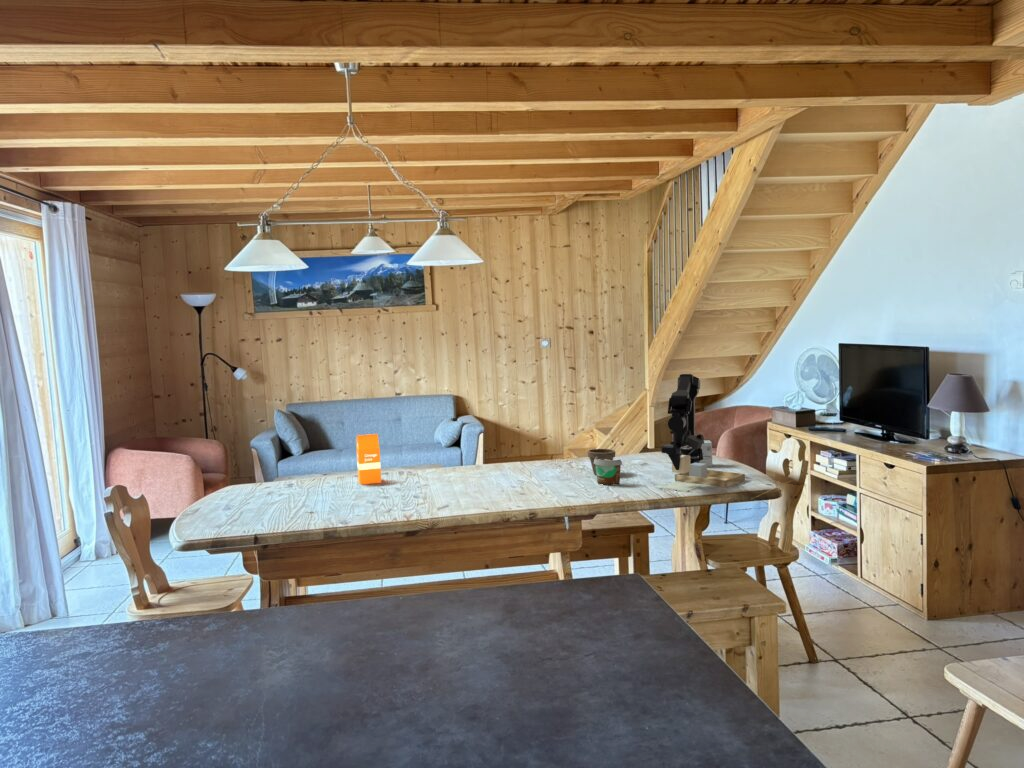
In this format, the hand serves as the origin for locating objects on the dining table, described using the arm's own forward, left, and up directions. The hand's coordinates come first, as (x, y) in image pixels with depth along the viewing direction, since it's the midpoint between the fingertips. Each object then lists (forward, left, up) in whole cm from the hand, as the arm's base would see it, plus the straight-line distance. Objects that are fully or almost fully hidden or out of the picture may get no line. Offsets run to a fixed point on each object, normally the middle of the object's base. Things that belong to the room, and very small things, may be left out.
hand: (681, 468), depth 287 cm
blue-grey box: (-1, +15, -7) cm, 16 cm away
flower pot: (-40, +5, -8) cm, 41 cm away
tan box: (0, 0, -1) cm, 1 cm away
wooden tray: (+4, +15, -7) cm, 17 cm away
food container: (-28, -10, -8) cm, 31 cm away
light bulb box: (-15, +42, -8) cm, 45 cm away
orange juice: (-114, -59, -8) cm, 129 cm away
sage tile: (0, 0, -7) cm, 7 cm away
